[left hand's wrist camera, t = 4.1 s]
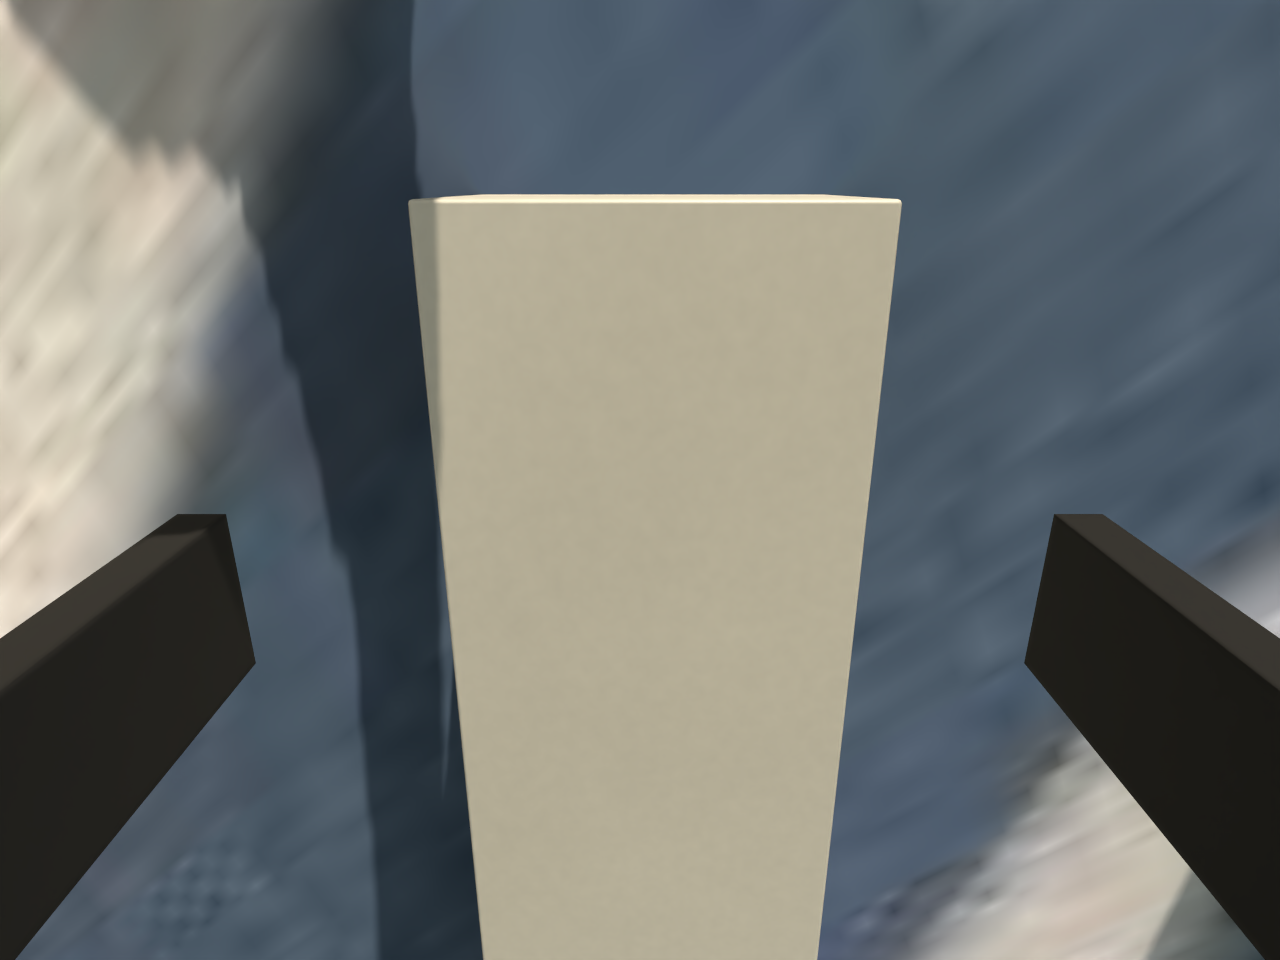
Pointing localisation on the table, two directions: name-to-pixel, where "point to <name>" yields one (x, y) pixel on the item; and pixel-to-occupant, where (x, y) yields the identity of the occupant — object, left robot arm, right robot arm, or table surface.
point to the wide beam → (652, 553)
